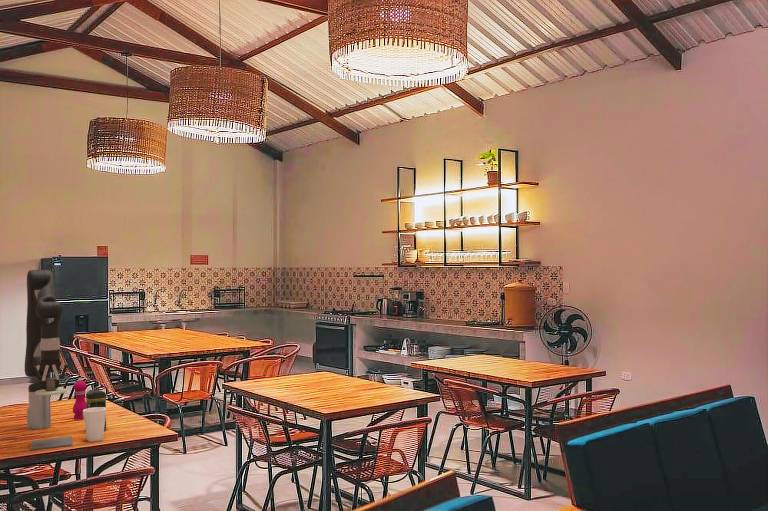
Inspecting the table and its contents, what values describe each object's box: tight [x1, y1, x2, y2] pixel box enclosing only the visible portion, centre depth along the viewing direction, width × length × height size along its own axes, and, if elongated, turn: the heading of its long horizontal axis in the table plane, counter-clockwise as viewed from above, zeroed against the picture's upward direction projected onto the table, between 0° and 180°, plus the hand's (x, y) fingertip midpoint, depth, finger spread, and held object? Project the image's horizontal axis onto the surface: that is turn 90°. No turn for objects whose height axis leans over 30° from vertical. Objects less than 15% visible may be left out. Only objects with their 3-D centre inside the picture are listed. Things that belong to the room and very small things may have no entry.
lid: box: [35, 377, 67, 396], centre depth 311 cm, size 12×12×6 cm
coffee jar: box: [85, 388, 107, 431], centre depth 335 cm, size 10×8×19 cm
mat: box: [29, 436, 74, 451], centre depth 311 cm, size 16×16×1 cm
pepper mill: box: [72, 377, 88, 421], centre depth 363 cm, size 7×7×20 cm
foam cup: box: [83, 407, 107, 442], centre depth 318 cm, size 10×9×13 cm
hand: (50, 388), depth 311 cm, fingers closed on lid, 4 cm apart
